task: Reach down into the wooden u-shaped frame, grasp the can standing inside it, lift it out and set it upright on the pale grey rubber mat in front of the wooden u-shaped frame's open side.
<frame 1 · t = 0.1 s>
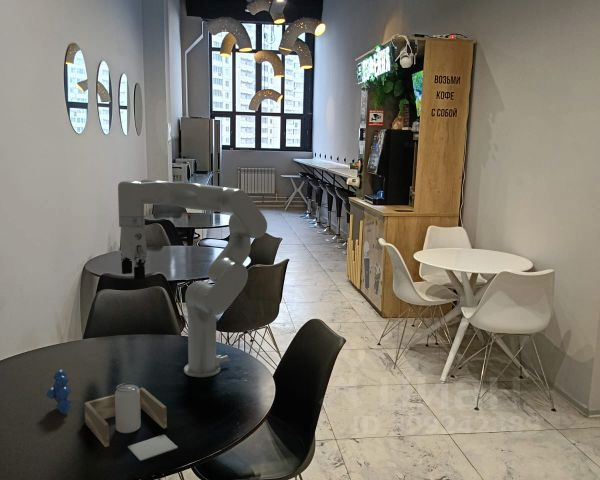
hand: (133, 276, 170), 37 cm above the table, tool pointing down, fingers open, 9 cm apart
can: (128, 428, 150), on the table
grapes: (59, 411, 159), on the table
wooden u-shaped frame: (126, 425, 152), on the table
mat: (152, 447, 141), on the table
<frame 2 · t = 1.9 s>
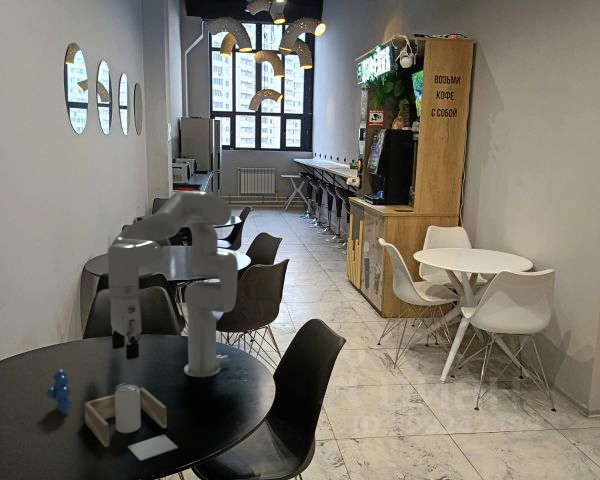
hand: (125, 353, 147), 22 cm above the table, tool pointing down, fingers open, 9 cm apart
nothing on the table moved.
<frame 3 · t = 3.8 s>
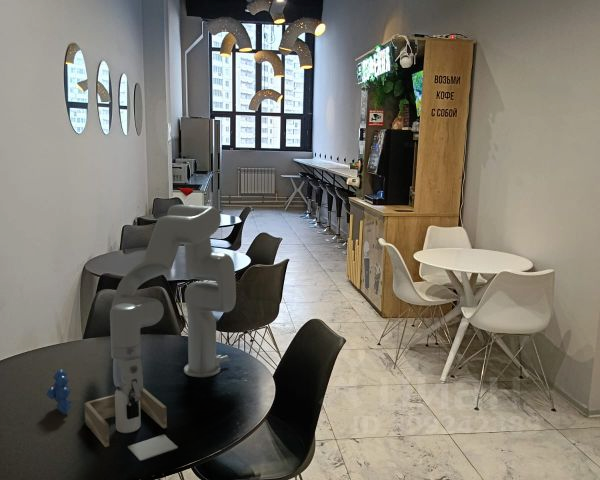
hand: (127, 412, 150), 5 cm above the table, tool pointing down, fingers closed on can, 6 cm apart
can: (128, 428, 150), on the table, touching gripper
everything else where it was.
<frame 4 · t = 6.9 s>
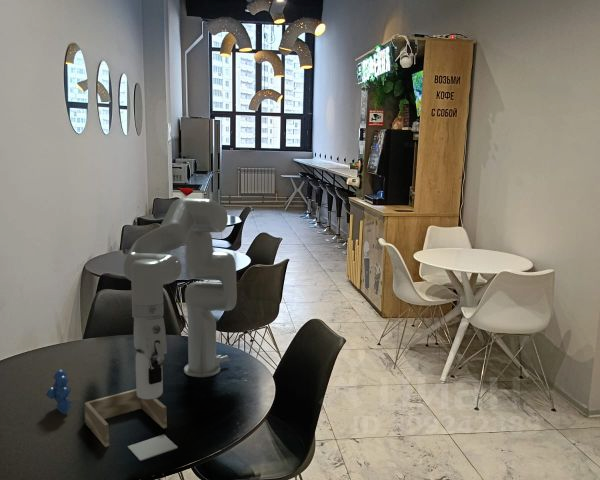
hand: (149, 377, 138), 19 cm above the table, tool pointing down, fingers closed on can, 6 cm apart
can: (149, 395, 139), point 14 cm above the table, touching gripper
everything else where it was.
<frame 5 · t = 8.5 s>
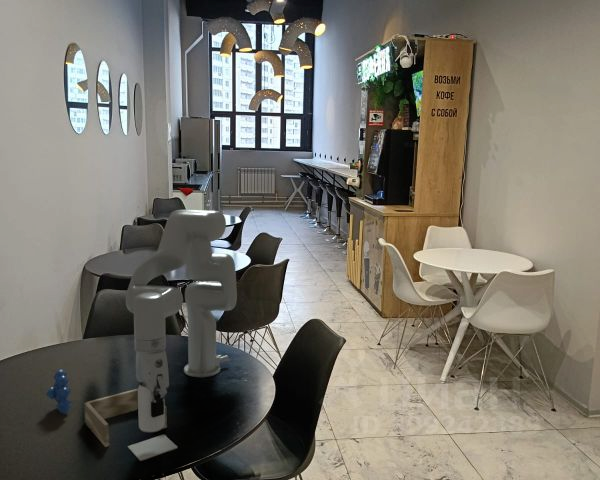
hand: (151, 410, 139), 10 cm above the table, tool pointing down, fingers closed on can, 6 cm apart
can: (152, 427, 140), point 6 cm above the table, touching gripper
everything else where it was.
when the fingers open (6 cm above the table, at t = 9.8 s): can drops 1 cm, resting on mat.
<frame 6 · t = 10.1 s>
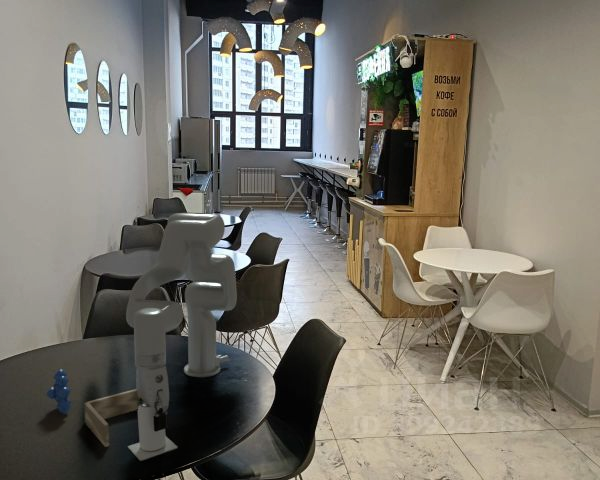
hand: (152, 422, 140), 7 cm above the table, tool pointing down, fingers open, 9 cm apart
can: (153, 446, 141), resting on mat
everything else where it was.
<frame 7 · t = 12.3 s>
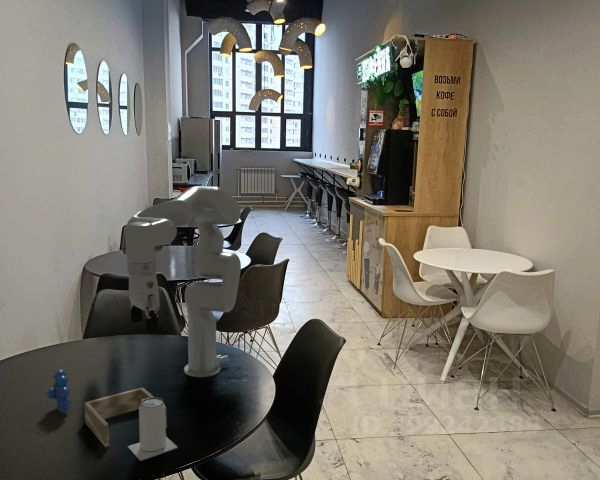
hand: (144, 326, 154), 27 cm above the table, tool pointing down, fingers open, 9 cm apart
nothing on the table moved.
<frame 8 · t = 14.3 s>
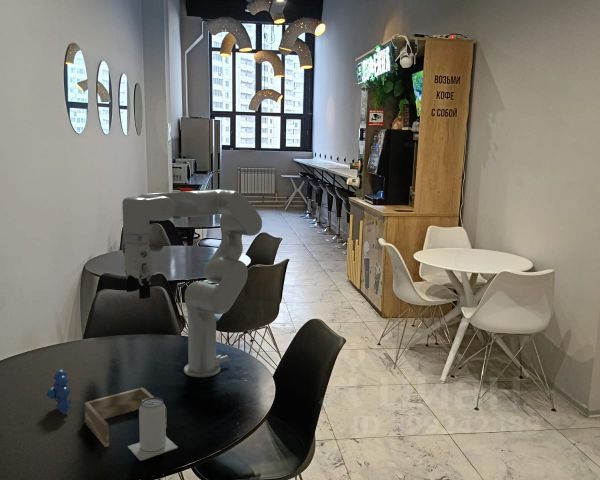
hand: (138, 294, 166), 32 cm above the table, tool pointing down, fingers open, 9 cm apart
nothing on the table moved.
at the end: can inside the target area (0.3 cm from its centre), resting on mat; can tilted 0°; the gripper is holding nothing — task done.
